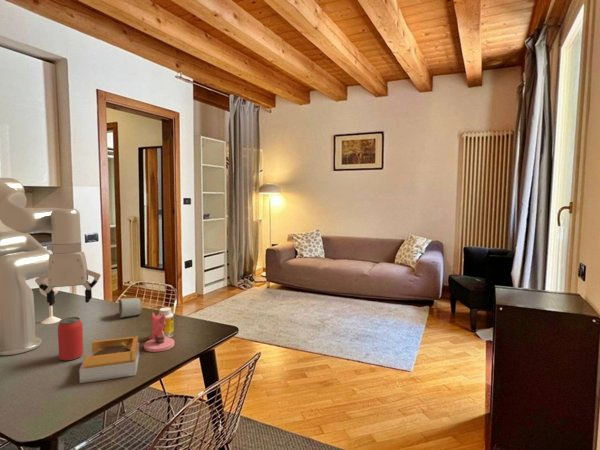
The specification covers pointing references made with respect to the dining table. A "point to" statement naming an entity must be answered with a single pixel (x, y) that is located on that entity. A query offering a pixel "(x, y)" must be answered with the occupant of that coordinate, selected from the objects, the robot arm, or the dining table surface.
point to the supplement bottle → (168, 321)
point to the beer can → (70, 338)
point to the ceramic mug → (130, 307)
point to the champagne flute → (51, 318)
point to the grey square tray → (110, 359)
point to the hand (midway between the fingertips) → (70, 303)
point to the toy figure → (158, 335)
